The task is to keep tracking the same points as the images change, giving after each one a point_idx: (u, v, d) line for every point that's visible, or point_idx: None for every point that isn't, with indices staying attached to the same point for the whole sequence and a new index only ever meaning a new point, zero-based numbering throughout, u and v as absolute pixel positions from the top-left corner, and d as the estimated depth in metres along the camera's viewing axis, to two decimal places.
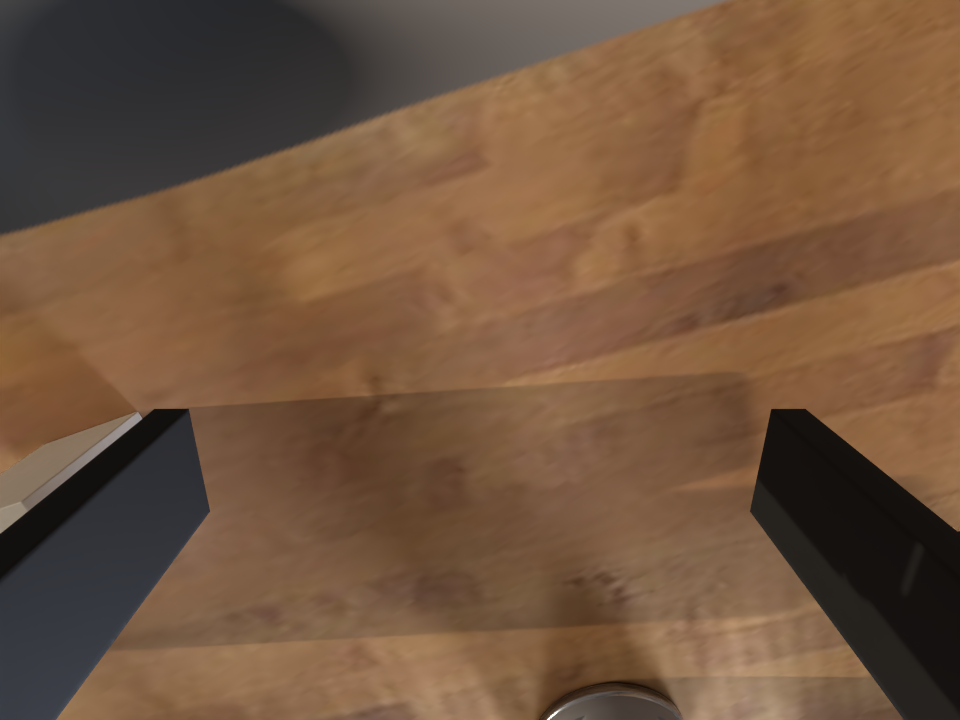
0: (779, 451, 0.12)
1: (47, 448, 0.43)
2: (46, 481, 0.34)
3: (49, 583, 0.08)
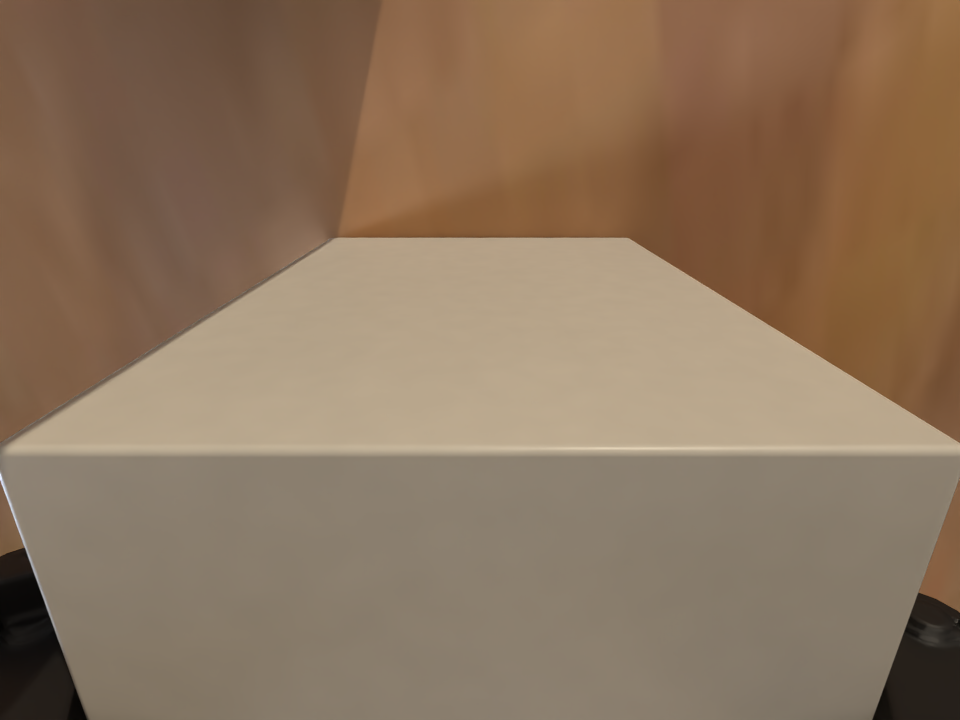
0: None
1: None
2: None
3: None
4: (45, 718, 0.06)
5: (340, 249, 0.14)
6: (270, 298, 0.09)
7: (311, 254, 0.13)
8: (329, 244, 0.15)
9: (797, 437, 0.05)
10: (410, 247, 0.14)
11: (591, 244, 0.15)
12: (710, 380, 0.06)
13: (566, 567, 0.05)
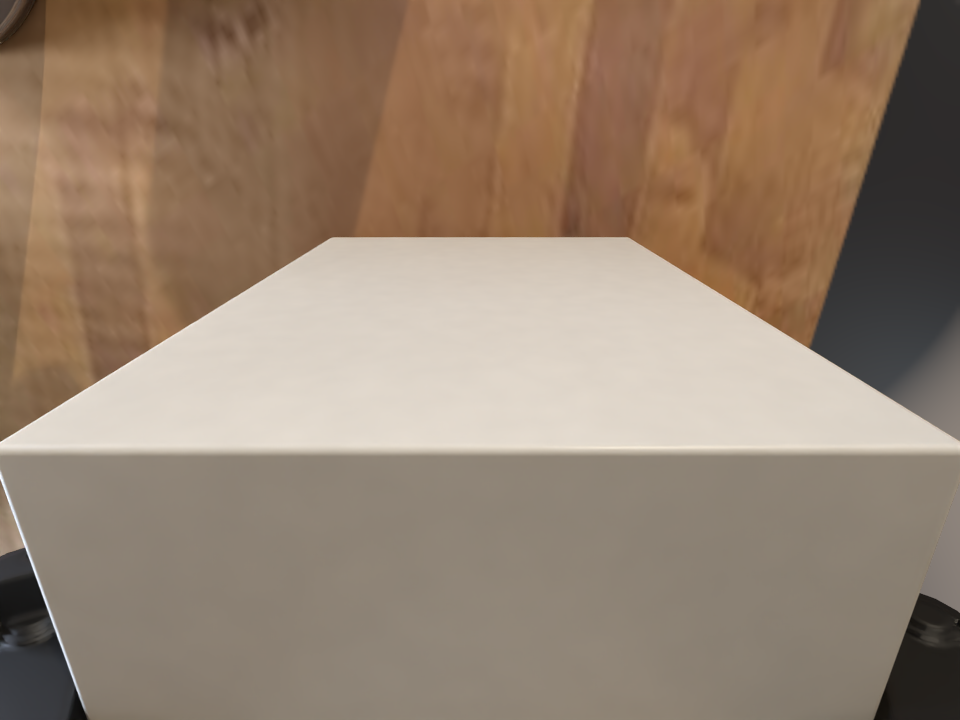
0: None
1: None
2: None
3: None
4: (45, 718, 0.06)
5: (340, 249, 0.14)
6: (270, 298, 0.09)
7: (311, 254, 0.13)
8: (329, 244, 0.15)
9: (798, 437, 0.05)
10: (410, 247, 0.14)
11: (591, 244, 0.15)
12: (711, 379, 0.06)
13: (567, 566, 0.05)
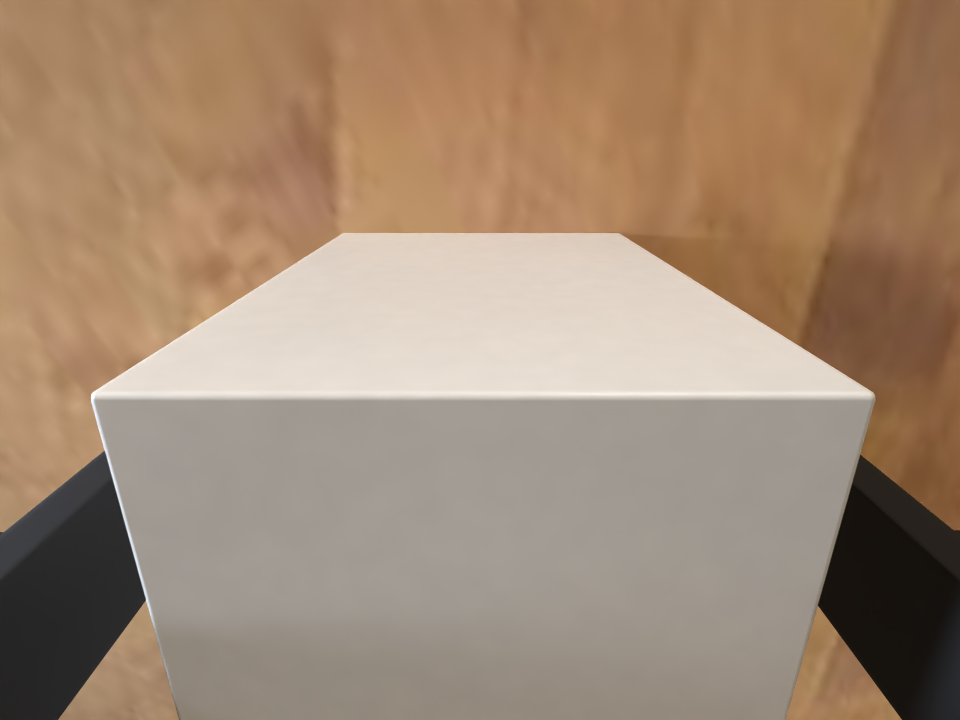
0: None
1: None
2: None
3: (53, 582, 0.08)
4: None
5: (352, 243, 0.15)
6: (295, 284, 0.11)
7: (326, 247, 0.14)
8: (342, 239, 0.16)
9: (738, 386, 0.06)
10: (417, 241, 0.15)
11: (584, 239, 0.16)
12: (676, 347, 0.07)
13: (553, 493, 0.06)
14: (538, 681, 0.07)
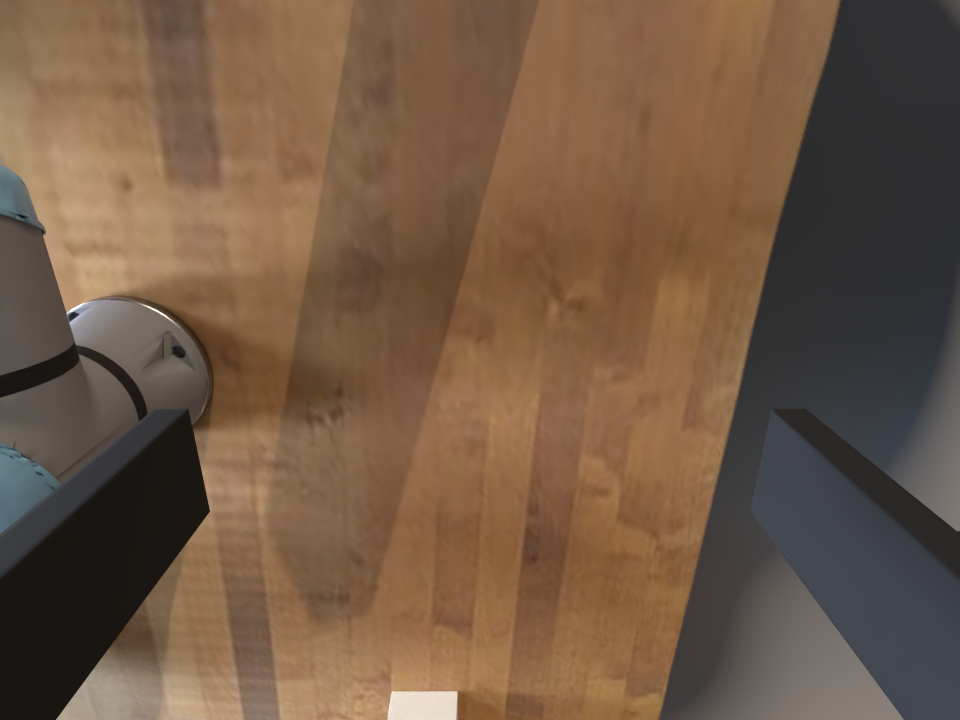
0: (779, 451, 0.12)
1: (457, 713, 0.71)
2: None
3: (49, 583, 0.08)
4: None
5: (395, 705, 0.70)
6: None
7: (390, 710, 0.69)
8: (392, 699, 0.71)
9: None
10: (409, 703, 0.70)
11: (447, 699, 0.71)
12: None
13: None
14: None
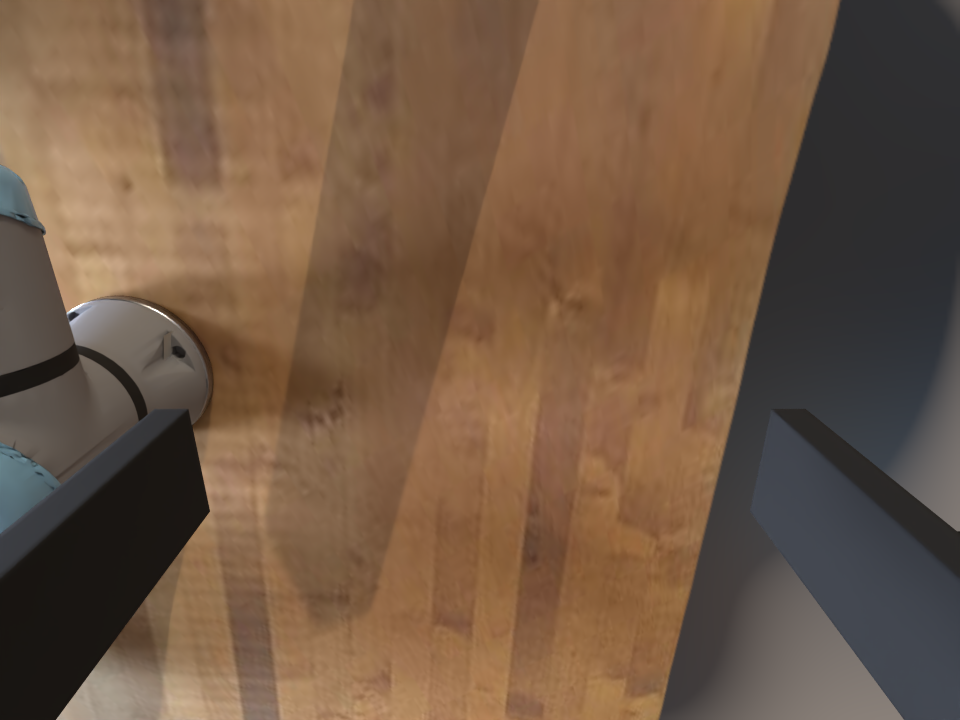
0: (779, 451, 0.12)
1: None
2: None
3: (49, 583, 0.08)
4: None
5: None
6: None
7: None
8: None
9: None
10: None
11: None
12: None
13: None
14: None
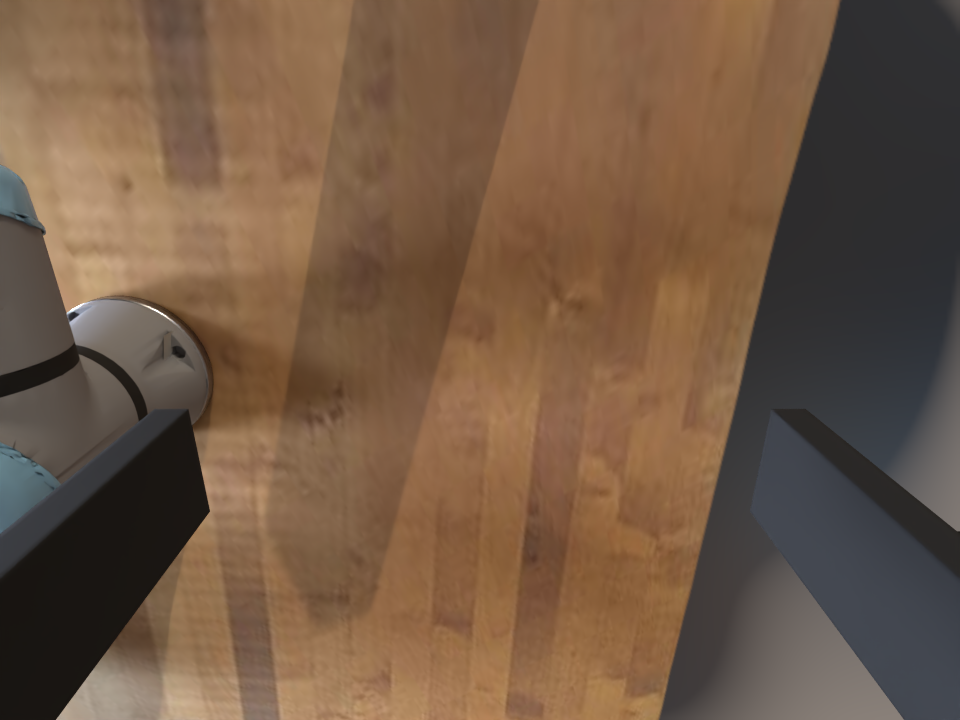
0: (779, 451, 0.12)
1: None
2: None
3: (49, 583, 0.08)
4: None
5: None
6: None
7: None
8: None
9: None
10: None
11: None
12: None
13: None
14: None
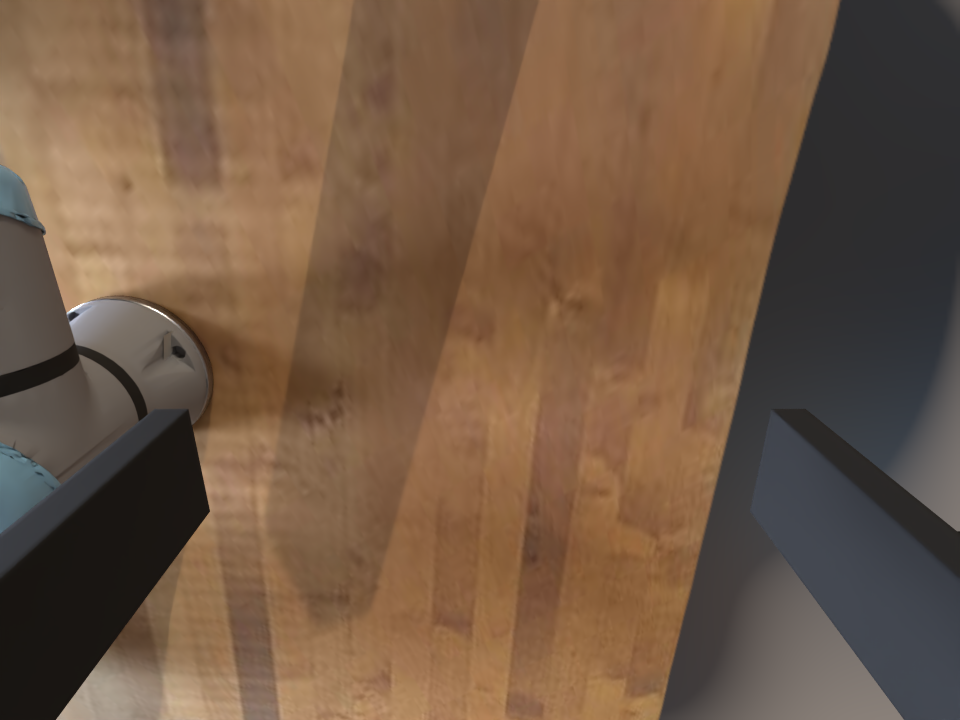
0: (779, 451, 0.12)
1: None
2: None
3: (49, 583, 0.08)
4: None
5: None
6: None
7: None
8: None
9: None
10: None
11: None
12: None
13: None
14: None
